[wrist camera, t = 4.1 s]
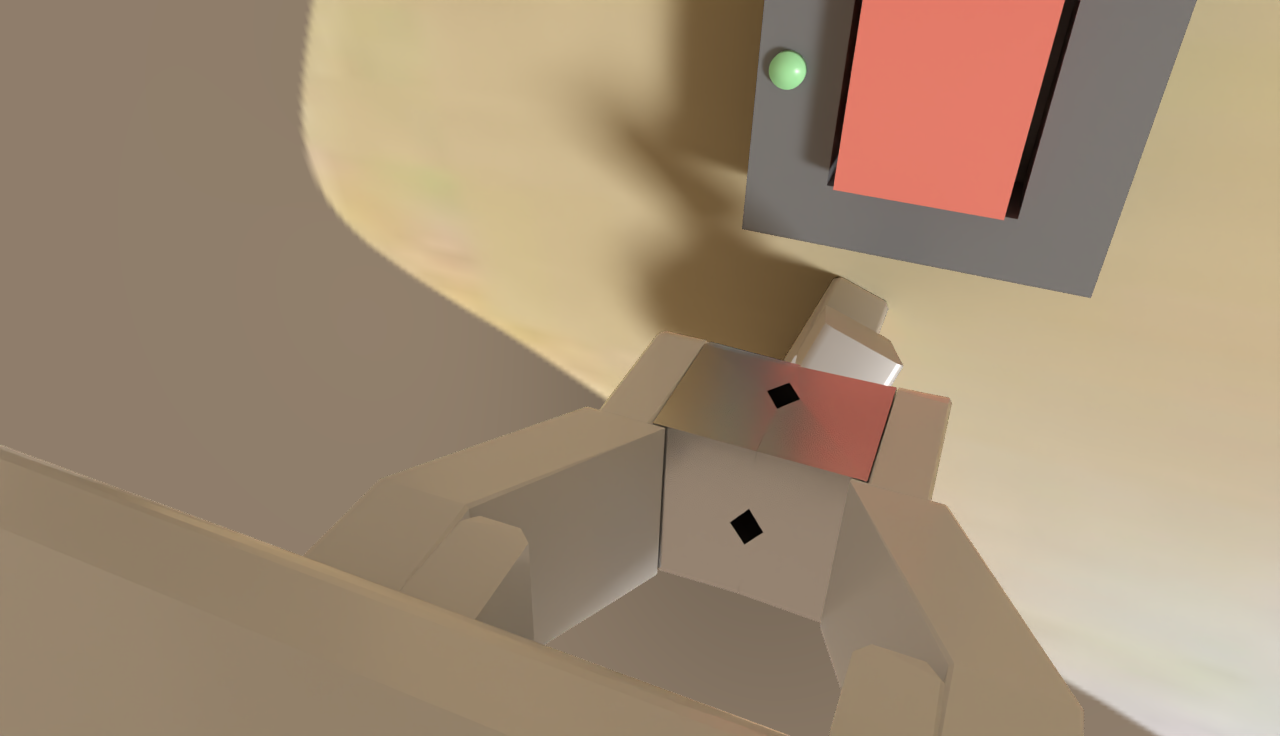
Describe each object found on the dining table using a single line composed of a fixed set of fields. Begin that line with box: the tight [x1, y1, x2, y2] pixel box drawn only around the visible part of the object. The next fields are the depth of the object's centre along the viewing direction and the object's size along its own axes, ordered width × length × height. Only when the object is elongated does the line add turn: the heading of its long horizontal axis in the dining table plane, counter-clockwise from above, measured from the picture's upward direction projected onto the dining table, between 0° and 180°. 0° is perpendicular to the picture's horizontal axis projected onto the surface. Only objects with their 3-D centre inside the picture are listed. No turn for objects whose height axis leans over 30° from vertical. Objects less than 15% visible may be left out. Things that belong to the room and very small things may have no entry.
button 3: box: [833, 0, 1065, 220], centre depth 19 cm, size 4×4×3 cm
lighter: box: [783, 277, 903, 386], centre depth 22 cm, size 7×2×8 cm, turn 159°
